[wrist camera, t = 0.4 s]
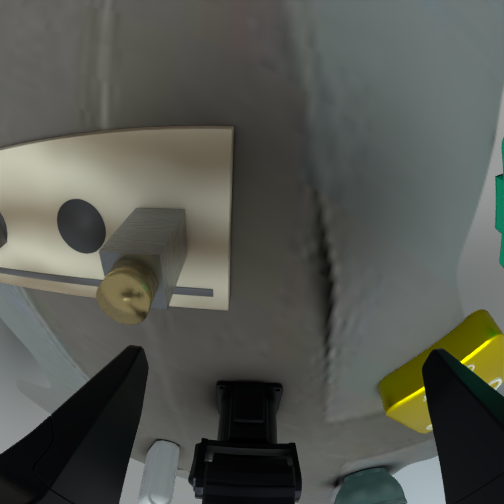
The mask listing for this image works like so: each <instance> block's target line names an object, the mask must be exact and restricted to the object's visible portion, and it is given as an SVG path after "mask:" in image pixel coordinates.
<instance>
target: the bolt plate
mask: <svg viewBox="0 0 504 504" xmlns="http://www.w3.org/2000/svg"><path fill="white" fill-rule="evenodd" d="M233 143H234V126H159V127H140V128H126V129H114V130H104V131H95V132H87V133H79V134H72V135H65V136H58V137H52V138H46V139H41V140H36V141H30V142H25V143H21V144H16V145H11V146H7V147H3V148H0V282H1V283H6V284H11V285H17V286H22V287H28V288H34V289H40V290H46V291H52V292H58V293H65V294H72V295H79V296H86V297H93V298H96V292H97V289H98V287H99V285H100V284H101V282H102V281H103V279H104V278H105V276H104V272H103V268H102V264H101V260H100V255H99V250H100V249H101V248H102V247H103V245H104V244H105V243H106V242H107V241H108V239H109V238H110V237H111V236H112V235H113V233H114V232H115V231H116V230H117V229H118V228H119V226H120V225H121V224H122V223H123V222H124V221H125V220H126V218H127V217H128V216H129V215H130V214H131V213H132V212H133V211H134V210H135V208H161V209H185V223H186V242H187V257H186V260H185V263H184V265H183V268H182V271H181V273H180V276H179V279H178V281H177V284H176V287H175V290H174V293H173V295H172V298H171V301H170V304H169V306H176V307H188V308H201V309H215V310H228V307H229V298H230V244H231V203H232V170H233Z"/></svg>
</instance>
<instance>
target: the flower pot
mask: <svg viewBox="0 0 504 504" xmlns="http://www.w3.org/2000/svg"><path fill="white" fill-rule="evenodd" d="M334 504H407V500H406V498H405V496H404V492H403V489H402V487H401V485H400V484H399V483H398V481H397V480H396V479H395V478H394V477H392V476H391V475H390V474H388V473H387V472H386V469H385V468H373V469H368V470H363V471H360V472H356V473H354V474H350V475H349V476H347V477H345V478H344V484H343V485H342V487H341V488H340V490H339V492H338V494H337V496H336V499H335V503H334Z"/></svg>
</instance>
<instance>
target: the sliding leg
mask: <svg viewBox="0 0 504 504" xmlns="http://www.w3.org/2000/svg"><path fill="white" fill-rule="evenodd" d="M99 255H100V260H101V264H102V268H103V272H104V276H105V278H104V279H103V281H102V282H101V284H100V285H99V287H98V289H97V292H96V298H97V301H98V304H99V306H100V307H101V309H102V310H103V311H104V313H105V314H107V315H108V316H109V317H110V318H112V319H113V320H115V321H117V322H120V323H123V324H129V325H133V324H138V323H140V322H142V321H143V320H144V319H145V318H146V316H147V314H148V311H149V309H150V308H159V309H168V307H169V304H170V301H171V298H172V295H173V293H174V290H175V287H176V284H177V281H178V279H179V276H180V273H181V271H182V268H183V265H184V263H185V260H186V257H187V242H186V223H185V209H161V208H135V210H134V211H133V212H132V213H131V214H130V215H129V216H128V217H127V218H126V220H125V221H124V222H123V223H122V224H121V225H120V226H119V228H118V229H117V230H116V231H115V232H114V233H113V235H112V236H111V237H110V238H109V239H108V241H107V242H106V243H105V244H104V245H103V247H102V248H101V249H100V250H99Z"/></svg>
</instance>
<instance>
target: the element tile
mask: <svg viewBox="0 0 504 504" xmlns="http://www.w3.org/2000/svg"><path fill="white" fill-rule="evenodd" d="M439 348H443V349H445V350H446V351H447V352H449V353H450V354H451V355H452V356H454V357H455V358H456V359H458V360H459V361H460V362H461V363H463V364H464V365H465V366H466V367H468V368H469V369H470V370H471V371H473V372H474V373H475V374H476V375H478V376H479V377H480V378H481V379H483V380H484V381H485V382H486V383H487V384H489V385H490V386H491V387H492V388H494V389H495V390H496V389H497V388H498V387H499V386H500V385H501V384H503V383H504V334H503V333H502V331H501V330H500V328H499V327H498V325H497V324H496V323H495V321H494V320H493V318H492V317H491V315H490V314H489V313H488V311H486V310H484V309H480V310H477V311H475V312H473V313H471V314H470V315H468V316H467V317H466V318H465V321H464V322H462V323H461V324H460V325H459V326H457V327H456V328H455V329H454V330H452V331H451V332H450V333H449V334H447V335H446V336H445V337H443V338H442V339H441V340H439V341H438V342H437V343H435V344H434V345H432V346H431V347H430V348H428V349H427V350H425V351H424V352H423V353H421V354H420V355H418V356H417V357H415V358H414V359H412V360H411V361H409V362H408V363H406V364H405V365H403V366H402V367H400V368H398V369H397V370H395V371H394V372H392V373H391V374H389V375H387V376H386V377H385V378H383V379H382V380H381V381H380V383H379V385H378V389H379V392H380V396H381V399H382V403H383V406H384V410H385V414H386V415H387V417H389V418H391V419H393V420H395V421H397V422H399V423H401V424H403V425H405V426H407V427H409V428H411V429H413V430H415V431H417V432H419V433H428V432H430V431H432V430H433V428H432V424H431V420H430V416H429V411H428V406H427V400H426V394H425V388H424V382H423V376H422V366H423V364H424V362H425V361H426V359H427V357H428V355H429V354H430V352H431V351H432V350H433V349H439Z"/></svg>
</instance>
